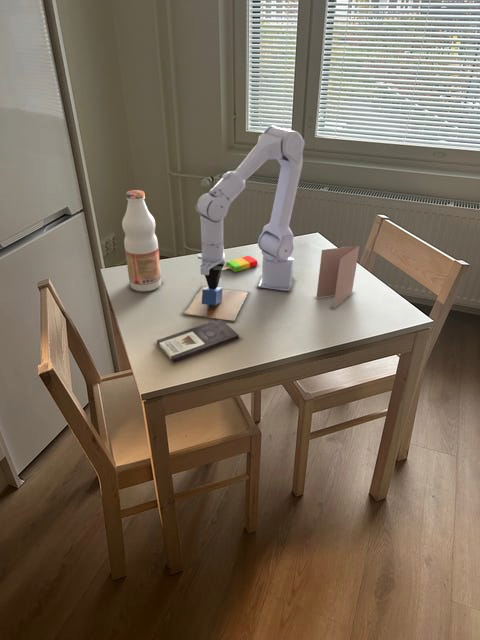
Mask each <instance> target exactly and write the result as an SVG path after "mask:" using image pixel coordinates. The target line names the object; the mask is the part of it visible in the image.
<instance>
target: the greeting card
mask: <svg viewBox="0 0 480 640" xmlns="http://www.w3.org/2000/svg"><path fill="white" fill-rule="evenodd" d="M359 252H360V244H359V245H352V246H343V247H336V248H335V247H334V248H325V249H321V255H320V264H319V270H318V271H319V272H318V281H317V289H316V299H320V298H325V297H327V298H328V297H333V296H334V297H333V298H334V299H333V306H332V308H333V309H335V308H336V307H337V306H338V305H339V304H341V302H343V301H344V300H345V299H347V298H348V297H349V296H350V295H351V294H353V288H354V283H355V276H356V269H357V265H358V258H359Z"/></svg>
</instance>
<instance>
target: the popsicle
mask: <svg viewBox="0 0 480 640" xmlns="http://www.w3.org/2000/svg"><path fill="white" fill-rule="evenodd" d="M225 265H226V266H225V267H223V268H222V271H221V272H223V271H226V270H231V271H233V272H235V273H237V272H241V271H244V270H248V269H251V268H254V267H257V266H258V260H257V259H256V258H254V257H253V256H251V255H245V256H242V257H238V258H235V259H230V260H227V261H225Z"/></svg>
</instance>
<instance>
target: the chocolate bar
mask: <svg viewBox="0 0 480 640" xmlns="http://www.w3.org/2000/svg"><path fill="white" fill-rule="evenodd" d="M239 338H240V335H239V334H238V332H236V331H235V330H234V329H233V328H231V327H230V326H229V325H228V324H227V323H225V322H224V320H221V319H214V320H212V321H210V322H206V323H203V324H201V325H198V326H194V327H192V328H189V329H185V330H183V331H180V332H177V333H174V334H171V335H168V336H165V337H163V338H159V339H157V340H156V344H157V345H158V346H159V347H160V349H162V351H163V352H164V353H165V354H166V355H167V356H168V358H169V359H170V360H171V361H172V362H173V363H177V362H179V361H181V360H185V359H188V358H189V357H192V356H195V355H198V354H201V353H203V352H206V351H209V350H211V349H214V348H216V347H219V346H222V345H225V344H227V343H230V342H232V341H235V340H238V339H239Z"/></svg>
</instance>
